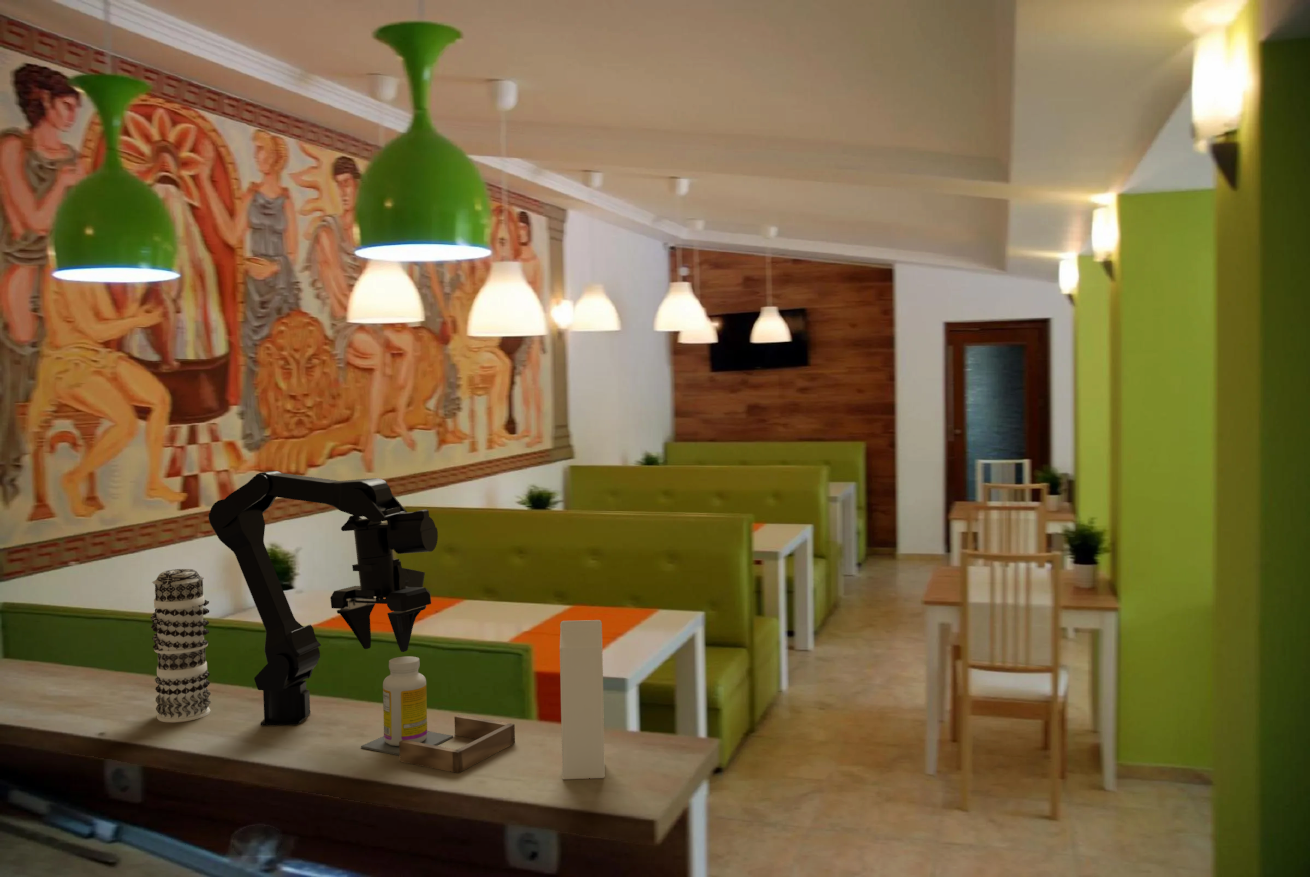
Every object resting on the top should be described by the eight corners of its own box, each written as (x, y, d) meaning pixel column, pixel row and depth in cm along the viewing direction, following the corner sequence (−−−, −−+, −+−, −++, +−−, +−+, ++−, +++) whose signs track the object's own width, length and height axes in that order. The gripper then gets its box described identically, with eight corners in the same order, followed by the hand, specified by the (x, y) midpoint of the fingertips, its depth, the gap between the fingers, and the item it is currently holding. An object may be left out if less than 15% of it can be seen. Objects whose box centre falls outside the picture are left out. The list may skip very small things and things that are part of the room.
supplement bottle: (434, 735, 166) (433, 656, 166) (414, 749, 160) (413, 666, 159) (397, 732, 168) (396, 653, 168) (375, 745, 162) (374, 663, 161)
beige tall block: (604, 778, 148) (602, 625, 147) (561, 780, 148) (559, 626, 146) (604, 763, 154) (602, 615, 153) (563, 764, 154) (560, 616, 152)
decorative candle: (222, 713, 180) (216, 570, 179) (166, 727, 174) (160, 578, 173) (200, 703, 187) (194, 564, 186) (146, 715, 180) (140, 571, 179)
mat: (360, 748, 162) (360, 746, 162) (404, 728, 171) (404, 726, 171) (410, 757, 157) (410, 755, 157) (453, 737, 166) (452, 735, 166)
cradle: (399, 761, 156) (399, 741, 156) (458, 733, 168) (458, 714, 168) (458, 773, 151) (458, 752, 151) (515, 743, 163) (514, 724, 163)
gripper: (451, 547, 172) (461, 641, 172) (377, 547, 183) (387, 636, 183) (398, 559, 163) (409, 658, 163) (323, 559, 174) (334, 651, 174)
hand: (385, 650), depth 171 cm, fingers open, 9 cm apart
